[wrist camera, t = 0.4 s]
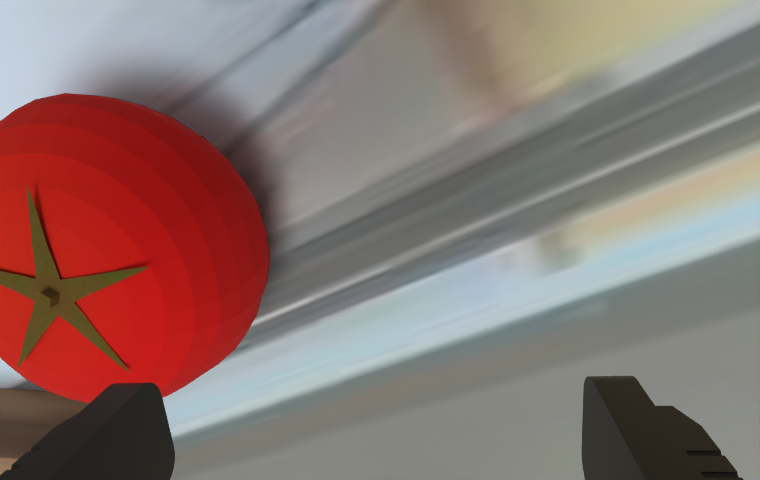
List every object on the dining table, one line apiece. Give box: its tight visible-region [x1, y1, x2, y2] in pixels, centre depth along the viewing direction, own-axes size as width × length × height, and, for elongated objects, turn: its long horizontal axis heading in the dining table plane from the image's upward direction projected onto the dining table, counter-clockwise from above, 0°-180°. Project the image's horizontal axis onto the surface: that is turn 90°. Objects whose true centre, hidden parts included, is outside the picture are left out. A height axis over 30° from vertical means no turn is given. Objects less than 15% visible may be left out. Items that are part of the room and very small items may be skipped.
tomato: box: [0, 93, 270, 403], centre depth 23 cm, size 14×13×10 cm
